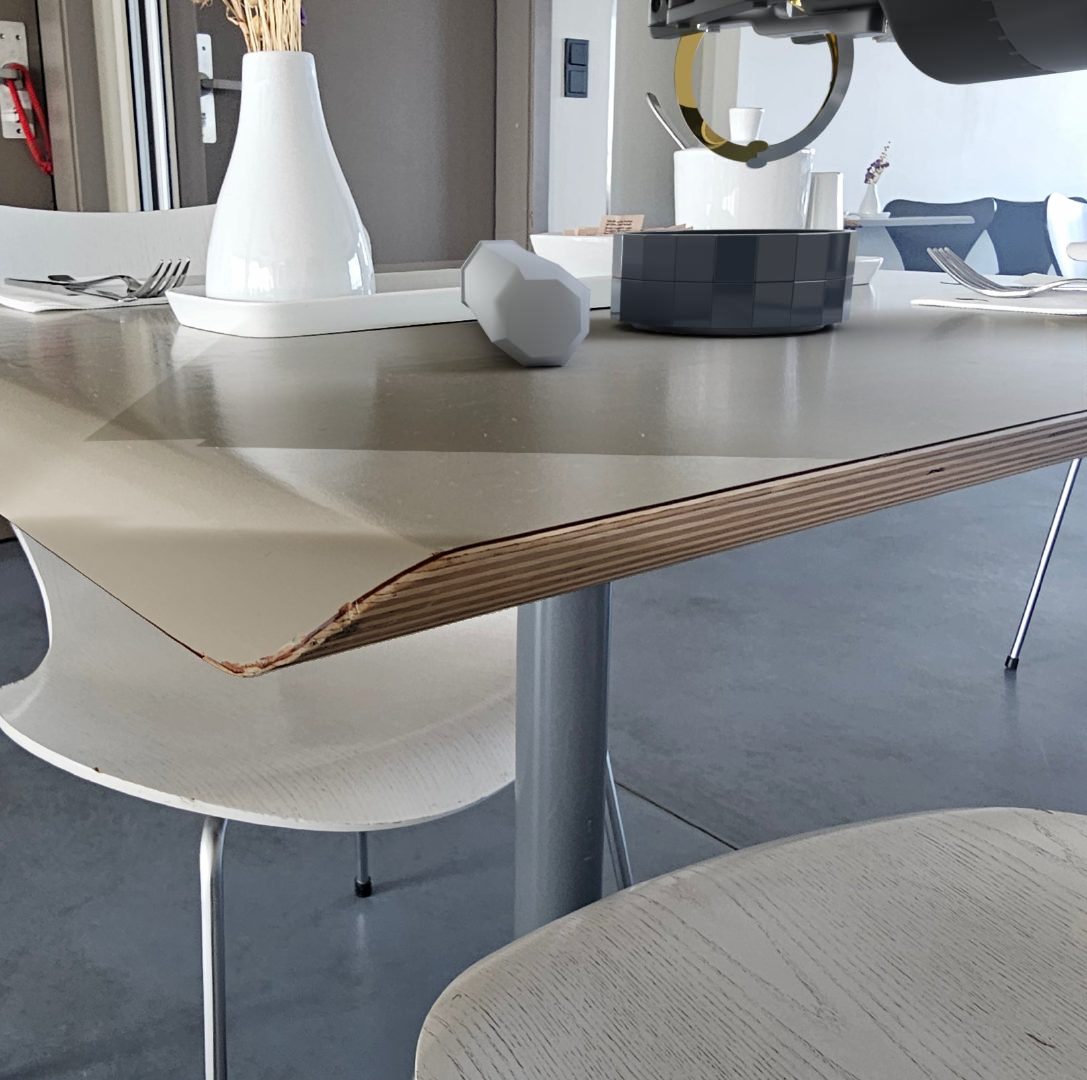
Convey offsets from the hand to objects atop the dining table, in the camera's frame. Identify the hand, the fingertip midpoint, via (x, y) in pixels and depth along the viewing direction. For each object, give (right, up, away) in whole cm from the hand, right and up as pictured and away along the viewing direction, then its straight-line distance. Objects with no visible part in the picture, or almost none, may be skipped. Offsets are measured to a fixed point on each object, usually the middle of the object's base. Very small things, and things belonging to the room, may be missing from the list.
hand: (729, 13), depth 48 cm
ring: (+1, -7, 0) cm, 7 cm away
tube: (-8, -9, +18) cm, 21 cm away
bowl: (+6, -6, +24) cm, 26 cm away
